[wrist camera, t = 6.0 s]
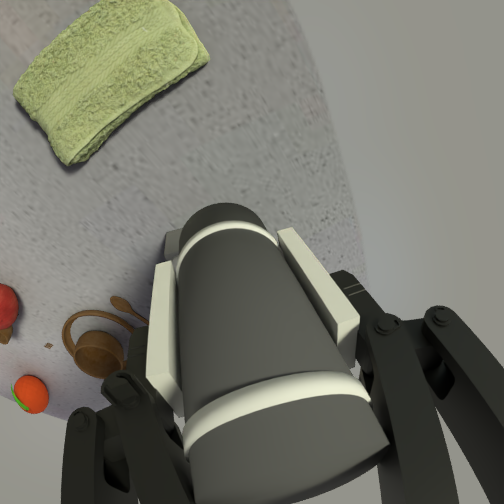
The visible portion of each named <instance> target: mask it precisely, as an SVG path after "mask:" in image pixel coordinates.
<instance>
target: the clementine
mask: <svg viewBox="0 0 504 504" xmlns="http://www.w3.org/2000/svg"><path fill="white" fill-rule="evenodd" d="M11 390H12V394H13V396H14V398H15V400H16V402H17V403H18V404H19V406H20V407H21V408H22V409H23V410H24V411H26V412H28V413H31V414H37V413H40V412H42V411H44V410H45V409H46V407H47V405H48V401H49V395H48V391H47V389H46V387H45V385H44V384H43V383H42V382H41V381H40V380H39V379H38V378H36V377H34V376H23V377H21V378H19V379H18V380H17V382H16V384H15V386H14V392H13V389H12V384H11Z"/></svg>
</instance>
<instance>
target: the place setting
mask: <svg viewBox="0 0 504 504" xmlns="http://www.w3.org/2000/svg"><path fill="white" fill-rule="evenodd" d="M110 301H111V303H112V305H113V306H114V307H115V308H116V309H118V310H120V311H123V312H127V313H130V314H132V315H134V316H135V317H137V318H138V319H140V320H141V321H143V322H144V323H146V324H147V325H149V321H148V320H146V319H144V318H143V317H141V316H140V315H138V314H137V313H135V312H134V311H133V310H132V308H131V306H130V304H129V303H128V302H127V301H126V300H124V299H122V298H120V297H116V296H112V297H111V298H110ZM17 316H18V315H17ZM81 316H100V317H104V318H107V319H110V320H113V321H115V322H117V323H119V324H120V325H122V326H124V327H125V328H126V329H127V330H129V331H130V332H131V333H132V334H133V332H134V329H133V328H132V327H131V326H130V325H129V324H128V323H127V322H126V321H124V320H123V319H121V318H119V317H118V316H116V315H113V314H111V313H108V312H104V311H99V310H85V311H81V312H78V313H76V314H74V315H72V316H71V317H70V318H69V319H68V320H67V321H66V323H65V324H64V327H63V329H62V340H63V343H64V345H65V348H66V349H67V351H68V352H69V353H70V355H71V356H72V357H73V358H74V361H75V363H76V365H77V366H78V367H79V368H80V369H81V370H82V371H83V372H85V373H86V374H88V375H90V376H93V377H96V378H100V379H106V378H107V377H108V376H109V375H110V374H111V373H113V372H115V371H118V370H122V369H123V370H126V364H127V360H125V361H124V352H123V348H122V346H121V344H120V343H119V342H118V341H117V340H116V339H115V338H114V337H113V336H111V335H110V334H108V333H106V332H103V331H89V332H86V333H84V334H83V335H82V336H81V337H80V338H79V339H78V341H77V344H76V346H75V344H74V342H73V341H72V338H71V334H70V328H71V325H72V323H73V322H74V320H75V319H77V318H78V317H81ZM12 332H13V327H12V325H11V326H10V327H9V328H7V329H2V330H0V343H2V344H8V342H9V340H10V338H11V335H12ZM48 344H49V343H47V345H48ZM47 345H46V346H47ZM51 345H52V344H50V345H49V346H48V347H47V348H49V347H50V346H51ZM46 346H45V347H46ZM52 346H53V345H52ZM52 346H51V347H52ZM51 347H50V348H51ZM50 348H49V349H50Z"/></svg>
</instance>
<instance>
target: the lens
mask: <svg viewBox="0 0 504 504" xmlns="http://www.w3.org/2000/svg"><path fill="white" fill-rule="evenodd" d="M176 282H177V286H178V290H179V339H180V361H181V379H182V393H183V406H184V417H185V426H184V428H183V433H182V436H183V446H184V455H185V459H186V460H187V462H188V463H189V464H190V470H191V477H192V484H193V491H194V497H195V503H196V504H292V503H296V502H299V501H303V500H306V499H309V498H312V497H315V496H318V495H320V494H323V493H325V492H328V491H331V490H333V489H335V488H337V487H340V486H341V485H344V484H346V483H348V482H350V481H352V480H354V479H355V478H357V477H359V476H361V475H362V474H364V473H366V472H367V471H368V470H370V469H372V468H373V467H374V466H376V465H377V464H378V463H380V461H381V460H382V458H383V457H384V456H385V454H386V453H387V451H388V450H389V448H390V447H391V443H390V442H389V440H388V438H387V436H386V434H385V432H384V431H383V429H382V427H381V425H380V423H379V421H378V420H377V418H376V416H375V414H374V412H373V402H372V400H371V399H370V397H369V395H368V393H367V392H366V390H365V388H364V386H363V385H362V383H361V382H360V381H359V380H358V379H357V378H356V377H354V376H353V375H352V373H351V371H350V369H349V368H348V366H347V364H346V362H345V361H344V359H343V357H342V355H341V354H340V352H339V350H338V348H337V347H336V345H335V343H334V341H333V340H332V338H331V336H330V334H329V333H328V331H327V329H326V328H325V326H324V324H323V322H322V321H321V319H320V317H319V316H318V314H317V312H316V311H315V309H314V307H313V305H312V304H311V302H310V300H309V299H308V297H307V295H306V294H305V292H304V290H303V289H302V287H301V285H300V284H299V282H298V280H297V279H296V277H295V275H294V274H293V272H292V270H291V269H290V267H289V265H288V264H287V262H286V260H285V257H284V254H283V251H282V250H281V248H280V246H279V245H278V243H277V241H276V240H275V239H274V237H273V236H272V235H271V234H270V233H269V232H268V231H267V229H266V228H265V226H264V224H263V223H262V221H261V220H260V218H259V217H258V216H257V215H256V214H255V213H254V212H253V211H251V210H250V209H248V208H246V207H244V206H242V205H238V204H234V203H217V204H213V205H210V206H207V207H205V208H203V209H201V210H199V211H198V212H196V213H195V214H194V215H193V216H191V218H190V219H189V220H188V221H187V222H186V224H185V225H184V227H183V229H182V231H181V234H180V239H179V258H178V261H177V267H176Z"/></svg>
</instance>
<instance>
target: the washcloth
mask: <svg viewBox="0 0 504 504" xmlns="http://www.w3.org/2000/svg"><path fill="white" fill-rule="evenodd" d="M209 60H210V56H209V54H208V53H207V51H206V49H205V48H204V46H203V44H202V43H201V42H200V41H199V39H198V38H197V35H196V33H195V32H194V30H193V28H192V26H191V25H190V24H189V22H188V20H187V19H186V17H185V15H184V14H183V13H182V12H181V11H180V10H179V9H178V8H177V7H176V6H175V5H173V4H172V3H171V2H169V1H168V0H101V1H100V2H99V3H97V4H95V5H94V6H93V7H90V9H89V10H88V11H87V12H85V13H84V14H83V15H81V16H80V18H77V19H76V20H75V21H74V22H73V23H72V24H71V25H69V26H68V27H67V28H66V30H64V31H62V32H61V33H60V34H59V35H58V36H57V37H56V38H55V40H52V43H51V44H50V45H49V46H47V47H45V48H44V49H43V50H42V51H41V52H40V54H39V56H36V57H35V58H34V61H33V62H32V64H30V66H29V67H28V69H27V70H26V72H25V73H24V74H22V75H21V77H20V79H19V80H18V82H17V84H16V85H15V86H14V89H13V96H14V97H15V99H16V100H17V101H18V102H19V103H20V105H21V106H22V107H23V108H24V109H26V112H27V113H29V116H30V118H31V119H32V120H33V121H37V122H38V123H39V125H40V126H41V128H42V129H43V130H44V131H45V132H46V134H47V135H48V141H49V142H50V146H51V147H53V150H54V152H55V154H56V156H57V157H58V158H60V160H61V162H62V163H64V164H65V165H66V166H70V165H72V164H73V163H74V164H75V163H77V162H82V161H83V162H84V161H86V160H87V159H89V156H90V155H91V154H92V153H93V152H95V151H96V150H98V148H99V147H100V146H101V145H102V142H104V141H105V140H106V139H107V138H108V136H109V135H110V134H111V133H112V131H113V130H115V129H116V128H117V127H118V126H119V125H121V124H122V123H123V122H124V121H125V119H127V118H129V116H130V115H131V113H133V112H134V111H135V110H137V109H138V108H139V107H140V106H142V105H143V104H144V103H145V102H148V101H149V100H150V99H151V98H153V97H154V96H155V94H158V92H161V91H162V90H165V89H166V88H168V87H169V86H170V85H171V84H175V83H177V82H178V81H179V80H180V79H181V78H184V77H185V76H187V75H188V73H190V72H193V71H195V70H197V69H198V68H200V67H201V66H204V65H205V64H206V63H207V62H208V61H209Z"/></svg>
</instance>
